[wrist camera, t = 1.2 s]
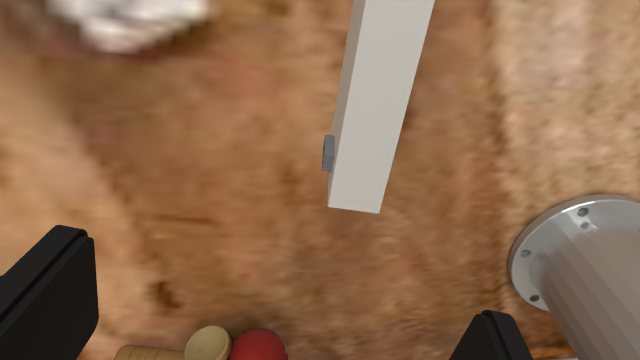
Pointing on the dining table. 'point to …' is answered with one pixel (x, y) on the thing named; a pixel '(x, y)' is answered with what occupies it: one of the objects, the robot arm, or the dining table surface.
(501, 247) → the dining table surface
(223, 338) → the kendama
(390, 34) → the door panel
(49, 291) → the robot arm
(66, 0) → the dining table surface
